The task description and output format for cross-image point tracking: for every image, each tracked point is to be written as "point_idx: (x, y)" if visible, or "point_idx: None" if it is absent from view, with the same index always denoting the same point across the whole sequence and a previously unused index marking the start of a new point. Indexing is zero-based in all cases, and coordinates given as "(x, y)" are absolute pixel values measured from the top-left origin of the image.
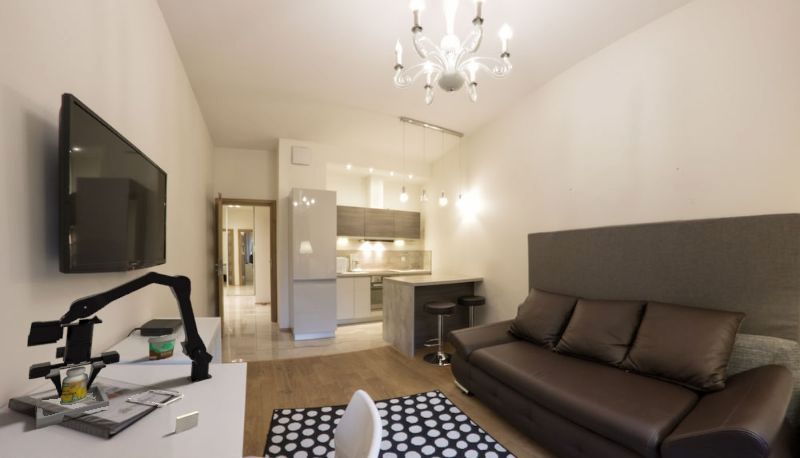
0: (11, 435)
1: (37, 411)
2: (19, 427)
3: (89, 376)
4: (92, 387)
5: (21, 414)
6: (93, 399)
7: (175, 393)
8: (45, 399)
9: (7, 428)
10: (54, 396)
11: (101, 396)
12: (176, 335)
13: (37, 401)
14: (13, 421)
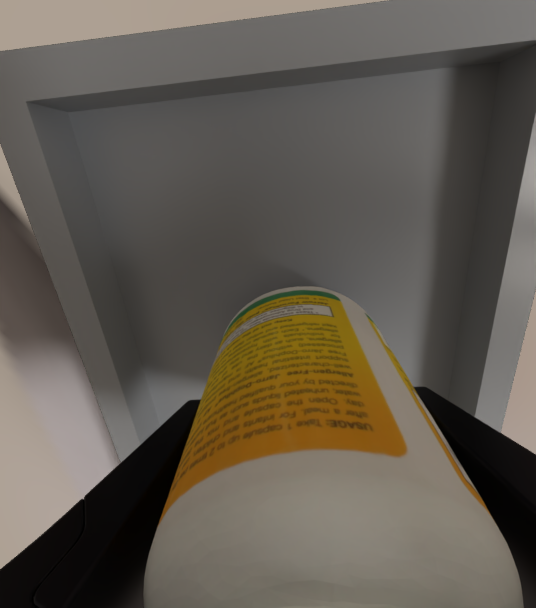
0: (90, 488)
1: (114, 440)
2: (88, 425)
3: (524, 569)
4: (495, 45)
5: (3, 202)
6: (422, 307)
7: None
8: (69, 101)
9: (34, 400)
10: (134, 90)
11: (470, 401)
12: None
13: (22, 187)
14: (15, 314)
